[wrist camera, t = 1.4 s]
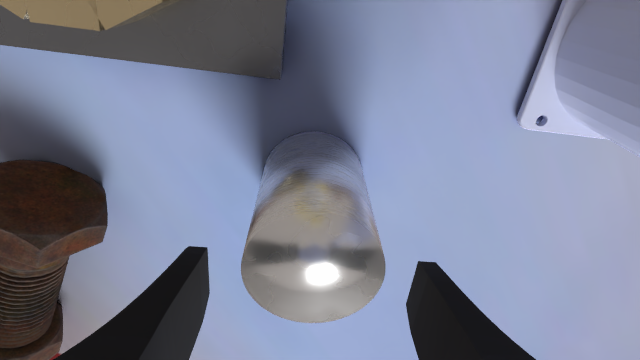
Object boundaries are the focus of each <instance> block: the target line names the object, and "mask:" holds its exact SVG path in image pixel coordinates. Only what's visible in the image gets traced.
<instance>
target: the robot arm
mask: <svg viewBox="0 0 640 360" xmlns="http://www.w3.org/2000/svg"><path fill="white" fill-rule="evenodd" d="M540 116H543V119H542V120H541V122H539V123H536V120H537V118H538V117H540ZM517 123H518V124H519V126H521V127H522V128H524V129H526V130H534V131H543V132H551V133H559V134H568V135H576V136H584V137H593V138H601V139H609V140H611V141H612V142H614V143H616V144H618V145H619V146H621V147H623V148H625V149H626V150H628V151H630V152H632V153H633V154H635V155H637V156H639V157H640V0H562V3H561V5H560V8H559V11H558V13H557V16H556V18H555V21H554V23H553V26H552V28H551V31H550V34H549V36H548V39H547V41H546V44H545V46H544V49H543V52H542V54H541V57H540V59H539V62H538V64H537V67H536V69H535V72H534V75H533V77H532V80H531V82H530V85H529V87H528V90H527V93H526V95H525V98H524V100H523V103H522V105H521V108H520V110H519V113H518V116H517ZM209 293H210V292H209V272H208V251H207V247H192V246H189V247H187V248H186V249H185V250H184V251H183V252H182V253H181V254H180V255H179V257H178V258H177V259H176V260H175V261H174V262H173V263H172V264H171V265H170V266H169V267H168V268H167V269H166V270H165V271H164V272H163V273H162V274H161V275H160V276H159V277H158V278H157V279H156V280H155V281H154V282H153V283H152V284H151V285H150V286H149V287H148V288H147V289H146V290H145V291H144V292H143V293H142V294H140V295H139V296H138V297H137V298H136V299H135V300H134V301H133V302H131V303H130V304H129V305H128V306H127V307H126V308H125V309H123V310H122V311H121V312H120V313H119V314H117V315H116V316H115V317H114V318H112V319H111V320H110V321H109V322H107V323H106V324H105V325H103V326H102V327H101V328H99V329H98V330H97V331H95V332H94V333H93V334H91V335H90V336H88V337H87V338H85V339H84V340H83V341H81V342H80V343H78V344H77V345H75V346H74V347H72V348H71V349H69V350H68V351H66V352H65V353H63V354H62V355H60V356H58V357H57V358H56V359H53V360H189V358H190V355H191V352H192V350H193V347H194V344H195V342H196V339H197V336H198V333H199V331H200V328H201V325H202V322H203V318H204V314H205V310H206V306H207V302H208V297H209ZM406 307H407V313H408V320H409V325H410V331H411V335H412V338H413V342H414V345H415V348H416V352H417V355H418V358H419V360H536V359H534V358H533V357H532V356H531V355H529V354H528V353H527V352H526V351H525V350H523V349H522V348H521V347H520V346H519V345H517V344H516V343H515V342H514V341H512V340H511V339H510V338H509V337H508V336H507V335H506V334H505V333H503V332H502V331H501V330H500V329H499V328H498V327H497V326H496V325H495V324H494V323H493V322H492V321H491V320H490V319H488V318H487V317H486V316H485V315H484V314H483V313H482V312H481V311H480V310H479V309H478V308H477V307H476V306H475V304H474V303H473V302H472V301H471V300H470V299H469V298H468V297H467V296H466V295H465V294H464V293H463V292H462V291H461V290H460V289H459V287H458V286H457V285H456V284H455V283H454V282H453V281H452V280H451V279H450V278H449V276H448V275H447V274H446V273H445V272H444V271H443V270H442V269H441V268H440V267H439V266H438V265H437V263H436V262H421V261H418V264H417V268H416V271H415V275H414V278H413V282H412V285H411V289H410V292H409V296H408V299H407V303H406Z"/></svg>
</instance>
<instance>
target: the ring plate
mask: <svg viewBox="0 0 640 360" xmlns="http://www.w3.org/2000/svg"><path fill="white" fill-rule="evenodd" d="M287 3H288V0H0V45H6V46H14V47H22V48H30V49H38V50H46V51H54V52H62V53H70V54H78V55H86V56H94V57H102V58H110V59H118V60H126V61H134V62H142V63H150V64H158V65H166V66H174V67H182V68H190V69H198V70H206V71H214V72H223V73H231V74H239V75H247V76H255V77H263V78H271V79H279V80H280V78H281V75H282V64H283V52H284V39H285V27H286V15H287Z"/></svg>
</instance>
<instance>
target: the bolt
mask: <svg viewBox="0 0 640 360" xmlns="http://www.w3.org/2000/svg"><path fill="white" fill-rule="evenodd" d="M107 216H108V213H107V203H106V194H105V190H104V188H103V187H102V186H101V185H100V184H98V183H97V182H96V181H95V180H93V179H92V178H90V177H89V176H87V175H85V174H83V173H80V172H78V171H75V170H73V169H71V168H68V167H66V166H63V165H60V164H57V163H52V162H43V161H33V160H14V161H7V162H3V163H0V360H49V359H50V358H51V357H53V356H54V355H55V354H57V353H58V352H59V350H60V347H61V344H62V337H63V313H62V306H61V305H59V304H58V303H56V302H57V298H58V295H59V292H60V288H61V285H62V282H63V278H64V274H65V270H66V267H67V264H68V260H69V256H70V255H72V254H74V253H77V252H79V251H81V250H84V249H86V248H89V247H91V246H94V245H96V244H99V243H101V242H103V238H104V235H105V232H106V229H107Z"/></svg>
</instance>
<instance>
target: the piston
mask: <svg viewBox="0 0 640 360" xmlns="http://www.w3.org/2000/svg"><path fill="white" fill-rule="evenodd" d="M241 274H242V279H243V282H244V285H245V287H246V289H247V291H248V292H249V294H250V295H251V297H252V298H253V299H254V300H255V301H256V302H257V303H258V304H259V305H260V306H261V307H263V308H264V309H266V310H267V311H269V312H271V313H272V314H274V315H277V316H279V317H281V318H284V319H287V320H291V321H296V322H303V323H323V322H329V321H334V320H338V319H341V318H344V317H347V316H349V315H351V314H353V313H355V312H357V311H358V310H360V309H362V308H363V307H364V306H365V305H367V304H368V303H369V302H370V301H371V300H372V299H373V298H374V297H375V295H376V294H377V293H378V291H379V289H380V287H381V285H382V283H383V280H384V276H385V259H384V254H383V250H382V246H381V242H380V238H379V234H378V230H377V226H376V222H375V218H374V214H373V211H372V207H371V203H370V199H369V195H368V191H367V187H366V183H365V179H364V175H363V171H362V167H361V164H360V160H359V158H358V156H357V154H356V153H355V152H354V150H353V149H352V148H351V147H350V146H349V145H348V144H347V143H346V142H345V141H343V140H342V139H340V138H338V137H336V136H334V135H331V134H328V133H324V132H316V131H310V132H302V133H298V134H295V135H292V136H290V137H288V138H286V139H284V140H283V141H281V142H280V143H279V144H278V145H277V146H276V147H275V148H274V149H273V150H272V151H271V153H270V154H269V156H268V158H267V160H266V163H265V167H264V171H263V175H262V179H261V183H260V187H259V191H258V195H257V200H256V204H255V208H254V212H253V216H252V220H251V224H250V228H249V232H248V236H247V240H246V245H245V249H244V253H243V257H242V263H241Z"/></svg>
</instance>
